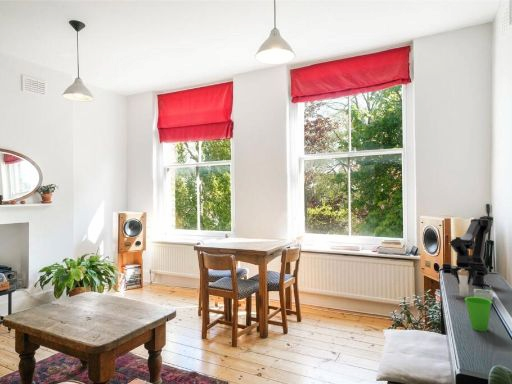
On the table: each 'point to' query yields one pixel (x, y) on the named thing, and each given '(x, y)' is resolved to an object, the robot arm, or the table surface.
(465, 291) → the cell
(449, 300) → the table surface
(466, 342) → the table surface
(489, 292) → the frame
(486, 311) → the cup
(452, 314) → the table surface
